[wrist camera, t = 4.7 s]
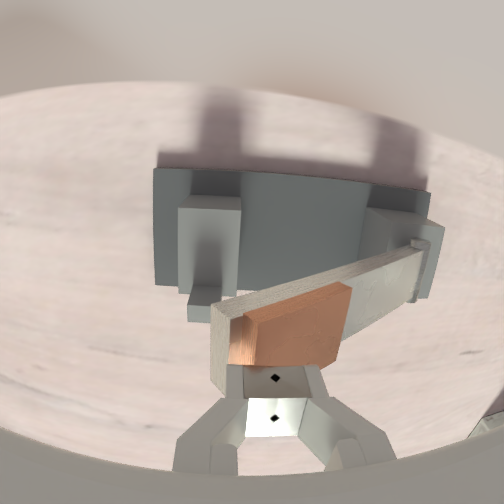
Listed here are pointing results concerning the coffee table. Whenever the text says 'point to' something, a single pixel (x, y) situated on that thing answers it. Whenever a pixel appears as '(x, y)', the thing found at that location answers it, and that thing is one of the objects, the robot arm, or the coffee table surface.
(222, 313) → the bar
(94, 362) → the coffee table surface
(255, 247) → the base
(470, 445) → the robot arm
